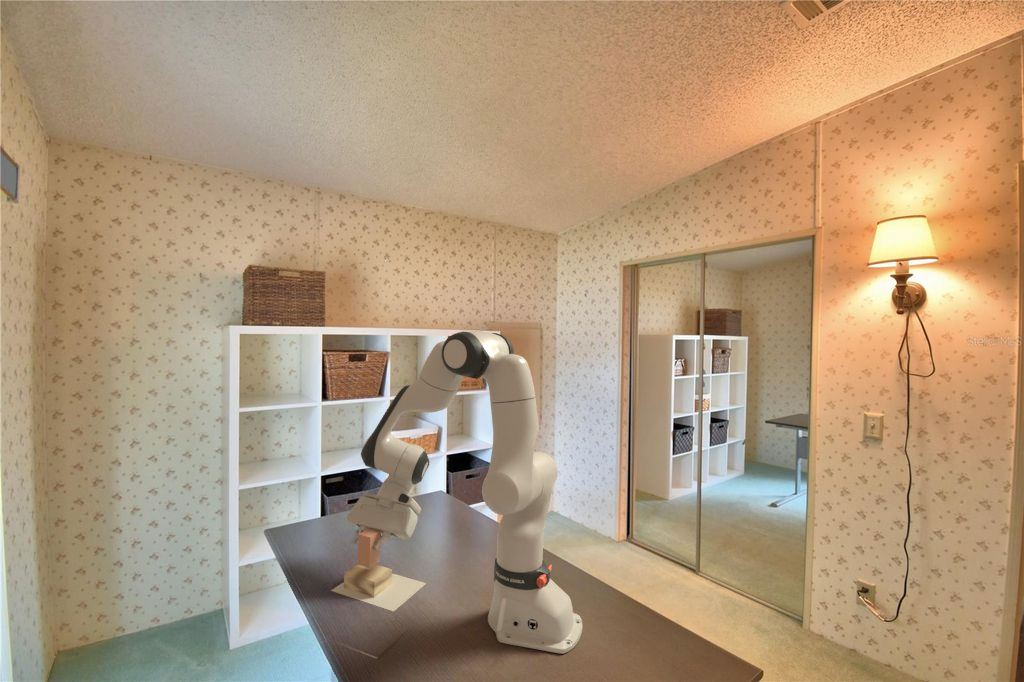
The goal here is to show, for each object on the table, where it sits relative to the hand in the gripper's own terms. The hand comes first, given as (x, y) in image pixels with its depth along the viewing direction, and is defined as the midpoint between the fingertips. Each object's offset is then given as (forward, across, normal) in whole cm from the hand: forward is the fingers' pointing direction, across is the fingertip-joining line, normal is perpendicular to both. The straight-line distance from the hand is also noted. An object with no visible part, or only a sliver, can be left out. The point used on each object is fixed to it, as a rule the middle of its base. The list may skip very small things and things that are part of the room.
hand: (367, 547), depth 121 cm
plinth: (+7, 0, +8) cm, 11 cm away
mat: (+6, +3, +9) cm, 11 cm away
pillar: (+3, 0, +4) cm, 4 cm away
